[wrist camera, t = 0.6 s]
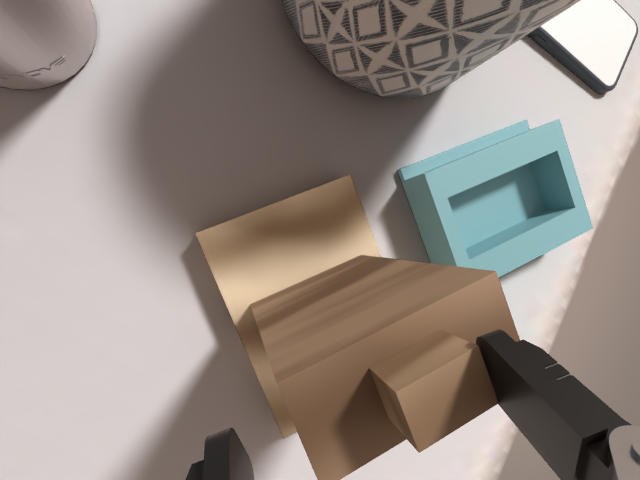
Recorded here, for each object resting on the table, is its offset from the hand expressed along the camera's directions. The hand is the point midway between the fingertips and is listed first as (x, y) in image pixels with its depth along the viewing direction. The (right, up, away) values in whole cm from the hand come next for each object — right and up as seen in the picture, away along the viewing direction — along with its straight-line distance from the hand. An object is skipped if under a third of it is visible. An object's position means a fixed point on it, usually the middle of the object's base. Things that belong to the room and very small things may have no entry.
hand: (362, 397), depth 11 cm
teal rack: (+14, +8, +21) cm, 26 cm away
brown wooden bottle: (-1, 0, +15) cm, 15 cm away
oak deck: (-2, 0, +17) cm, 17 cm away
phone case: (+23, +27, +24) cm, 43 cm away
